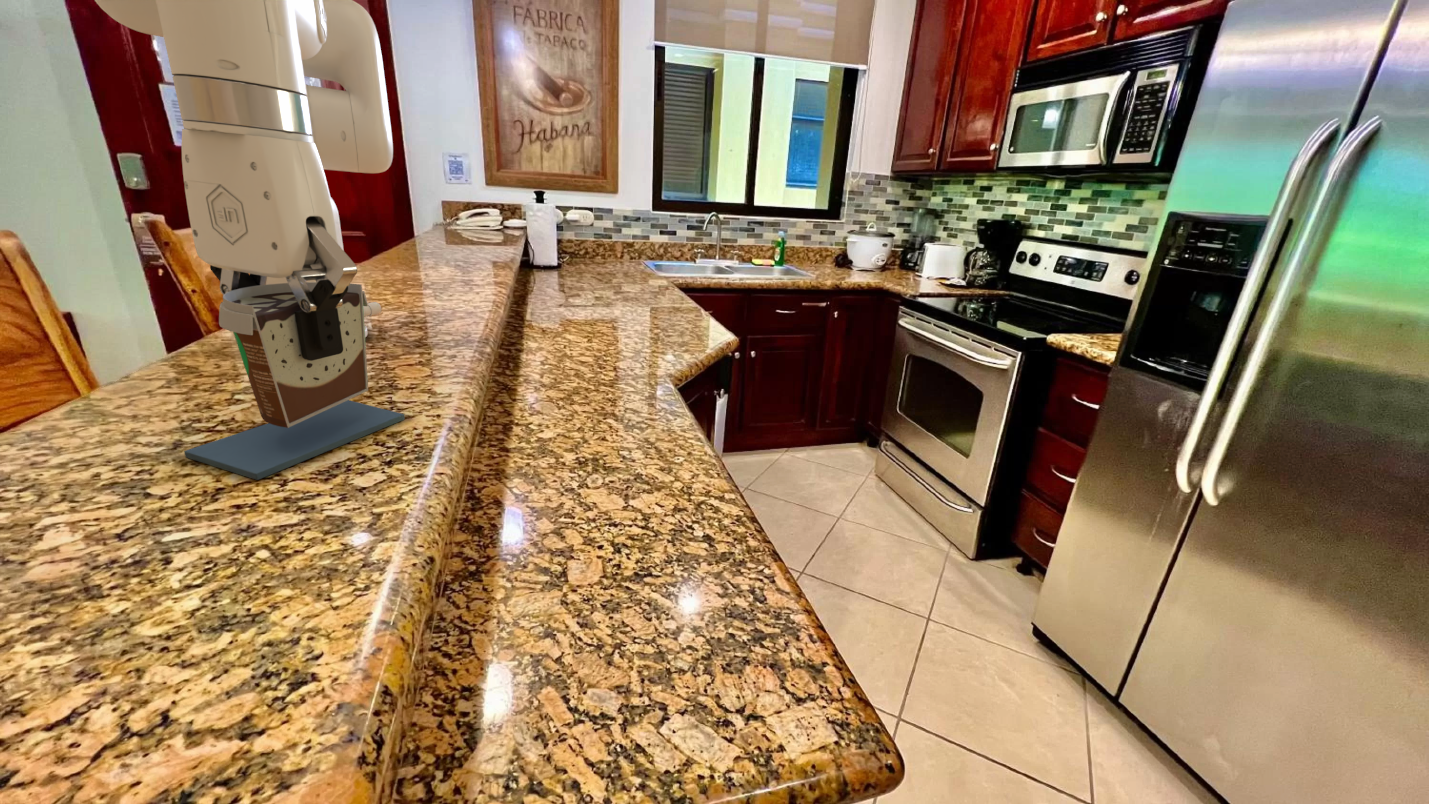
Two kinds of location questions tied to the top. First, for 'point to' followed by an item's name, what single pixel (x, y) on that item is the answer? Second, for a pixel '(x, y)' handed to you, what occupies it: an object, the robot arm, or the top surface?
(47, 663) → the top surface
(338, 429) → the pad
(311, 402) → the food container
